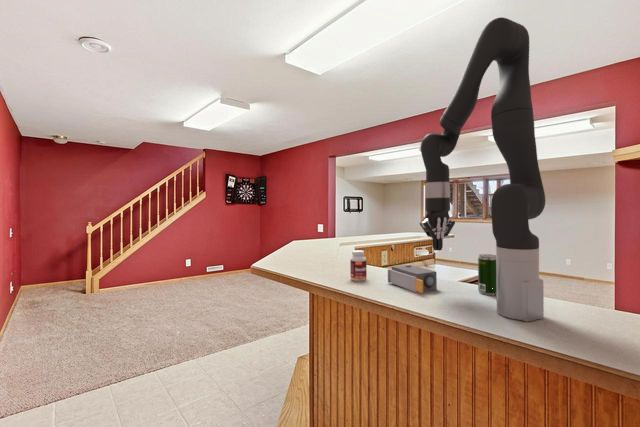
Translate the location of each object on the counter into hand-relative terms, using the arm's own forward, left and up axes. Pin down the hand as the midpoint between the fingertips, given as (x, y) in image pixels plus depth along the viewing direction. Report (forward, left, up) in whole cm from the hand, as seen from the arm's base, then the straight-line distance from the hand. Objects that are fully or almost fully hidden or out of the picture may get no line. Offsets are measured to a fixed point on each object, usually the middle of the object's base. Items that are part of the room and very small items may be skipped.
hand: (437, 250), depth 102 cm
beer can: (-8, -13, -14) cm, 20 cm away
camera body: (+9, +2, -14) cm, 17 cm away
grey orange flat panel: (+8, +7, -13) cm, 17 cm away
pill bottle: (+27, +14, -14) cm, 33 cm away
